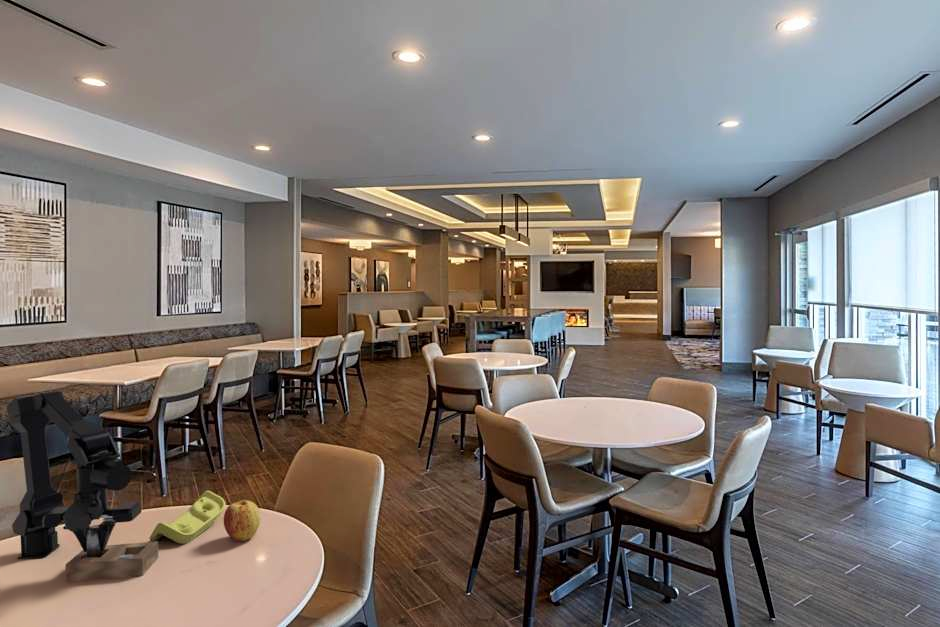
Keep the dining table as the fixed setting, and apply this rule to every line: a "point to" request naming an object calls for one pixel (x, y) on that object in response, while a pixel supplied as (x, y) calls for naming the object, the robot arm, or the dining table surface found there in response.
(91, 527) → the plug
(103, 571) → the board
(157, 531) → the plastic component
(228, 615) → the dining table surface
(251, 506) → the apple
